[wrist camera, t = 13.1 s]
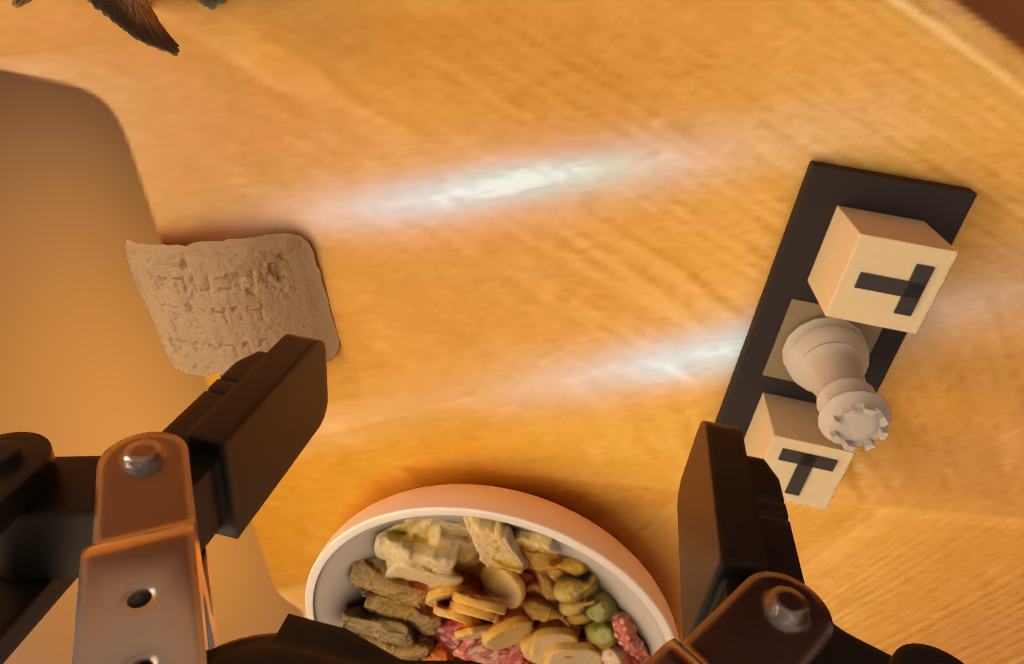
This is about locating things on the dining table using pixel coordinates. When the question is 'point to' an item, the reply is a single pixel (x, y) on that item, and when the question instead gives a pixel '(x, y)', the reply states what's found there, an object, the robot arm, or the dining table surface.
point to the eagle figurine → (138, 20)
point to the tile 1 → (797, 450)
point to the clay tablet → (231, 298)
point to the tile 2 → (880, 269)
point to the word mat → (788, 280)
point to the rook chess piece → (838, 381)
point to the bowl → (487, 582)
